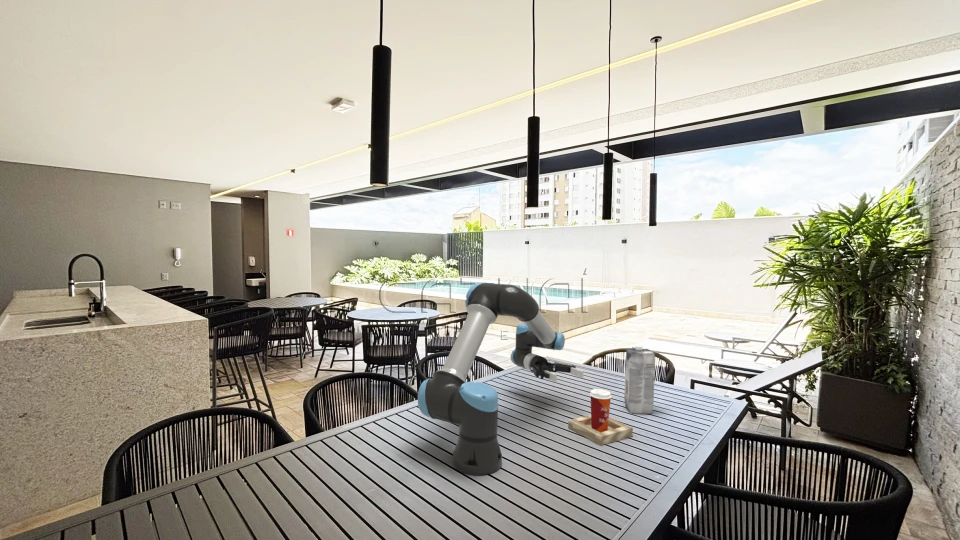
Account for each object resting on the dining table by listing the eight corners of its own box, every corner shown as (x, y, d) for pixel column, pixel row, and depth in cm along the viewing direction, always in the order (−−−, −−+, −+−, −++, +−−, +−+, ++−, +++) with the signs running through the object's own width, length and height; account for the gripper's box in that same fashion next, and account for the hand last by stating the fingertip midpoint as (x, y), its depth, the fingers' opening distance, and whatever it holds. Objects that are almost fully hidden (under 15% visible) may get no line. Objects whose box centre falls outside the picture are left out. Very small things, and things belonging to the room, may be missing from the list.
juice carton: (655, 415, 168) (657, 349, 167) (629, 414, 168) (631, 349, 167) (646, 407, 177) (649, 345, 176) (622, 406, 177) (624, 344, 176)
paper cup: (606, 436, 145) (607, 396, 144) (585, 430, 149) (586, 392, 149) (613, 429, 151) (614, 391, 151) (593, 423, 156) (594, 387, 155)
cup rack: (600, 445, 139) (600, 436, 139) (568, 427, 153) (568, 420, 153) (632, 436, 147) (632, 428, 147) (599, 420, 161) (599, 412, 161)
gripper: (558, 369, 184) (592, 382, 165) (511, 375, 171) (543, 389, 153) (558, 353, 184) (593, 363, 165) (512, 357, 171) (544, 369, 153)
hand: (569, 376), depth 159 cm, fingers open, 13 cm apart
